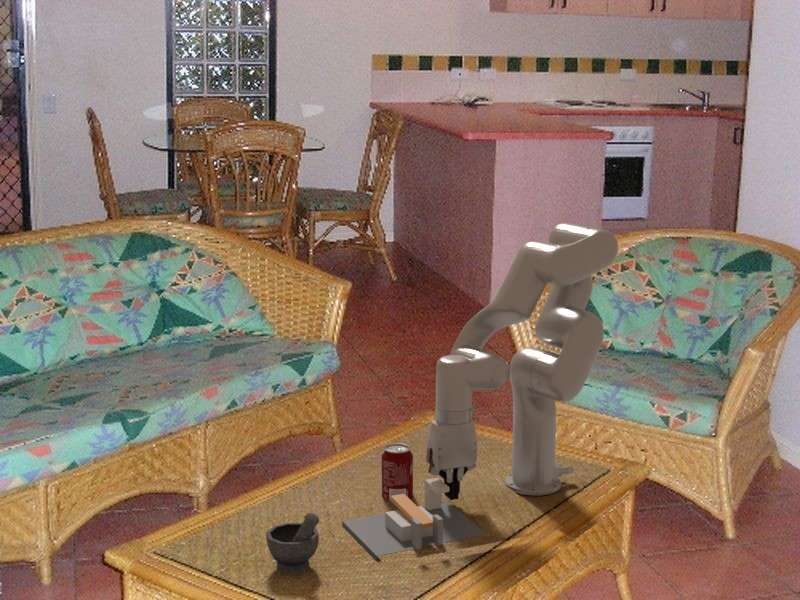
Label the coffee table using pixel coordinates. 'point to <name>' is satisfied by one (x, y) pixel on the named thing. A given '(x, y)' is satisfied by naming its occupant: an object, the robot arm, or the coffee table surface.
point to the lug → (434, 493)
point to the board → (391, 544)
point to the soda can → (397, 471)
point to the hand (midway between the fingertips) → (451, 497)
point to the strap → (411, 510)
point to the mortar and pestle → (294, 544)
